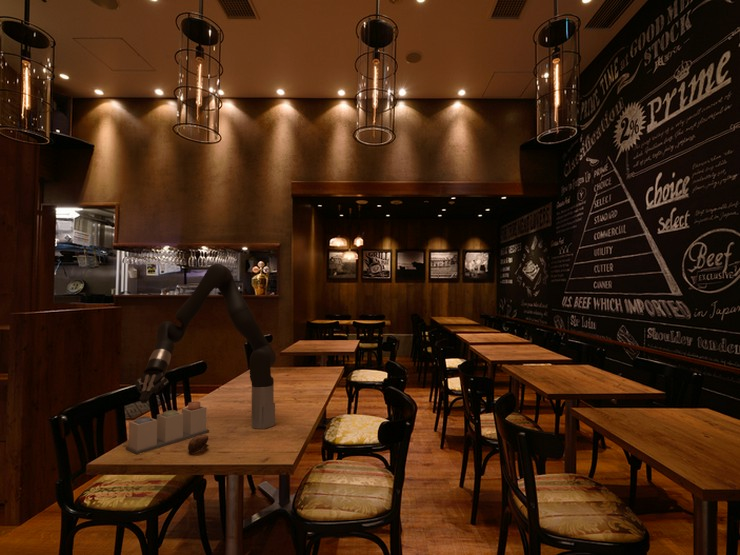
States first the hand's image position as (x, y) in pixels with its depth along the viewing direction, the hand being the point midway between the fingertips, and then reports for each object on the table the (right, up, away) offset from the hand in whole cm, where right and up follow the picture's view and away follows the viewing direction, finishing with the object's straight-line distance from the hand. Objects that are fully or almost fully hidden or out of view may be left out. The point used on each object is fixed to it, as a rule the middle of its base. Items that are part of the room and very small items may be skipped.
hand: (143, 402), depth 146 cm
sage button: (+6, -10, +8) cm, 14 cm away
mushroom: (+22, -17, -4) cm, 28 cm away
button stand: (+6, -17, +8) cm, 20 cm away
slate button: (0, -9, 0) cm, 9 cm away
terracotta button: (+12, -9, +16) cm, 22 cm away
